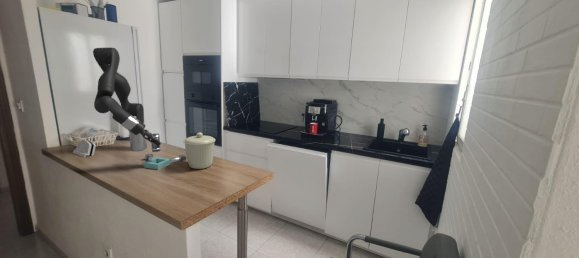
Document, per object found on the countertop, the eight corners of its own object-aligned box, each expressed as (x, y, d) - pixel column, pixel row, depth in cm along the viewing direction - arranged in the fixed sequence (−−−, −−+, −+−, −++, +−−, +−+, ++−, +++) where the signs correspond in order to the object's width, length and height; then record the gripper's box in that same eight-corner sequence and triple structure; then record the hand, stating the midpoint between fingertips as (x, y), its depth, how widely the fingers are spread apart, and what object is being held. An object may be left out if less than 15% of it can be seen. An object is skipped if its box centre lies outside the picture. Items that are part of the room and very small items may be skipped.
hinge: (72, 152, 158) (76, 138, 159) (81, 153, 163) (85, 139, 164) (84, 157, 151) (88, 142, 152) (93, 158, 155) (97, 143, 156)
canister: (206, 173, 135) (205, 137, 130) (177, 169, 138) (175, 134, 134) (221, 162, 152) (220, 130, 148) (195, 159, 156) (194, 128, 151)
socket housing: (156, 161, 149) (156, 157, 148) (170, 163, 147) (170, 159, 146) (143, 167, 139) (143, 162, 139) (158, 169, 137) (157, 164, 136)
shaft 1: (158, 162, 147) (157, 158, 147) (151, 164, 145) (150, 159, 144) (151, 157, 156) (151, 153, 155) (144, 159, 153) (144, 154, 152)
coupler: (155, 149, 144) (154, 133, 142) (162, 150, 143) (161, 133, 141) (149, 151, 139) (148, 134, 137) (156, 152, 138) (155, 135, 136)
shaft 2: (167, 164, 145) (166, 160, 144) (164, 162, 148) (164, 158, 147) (187, 160, 154) (186, 155, 153) (184, 158, 156) (184, 154, 156)
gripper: (138, 122, 127) (165, 141, 136) (138, 118, 139) (163, 136, 148) (127, 132, 126) (155, 151, 134) (128, 127, 137) (154, 145, 146)
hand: (159, 143), depth 141 cm, fingers closed on coupler, 4 cm apart
